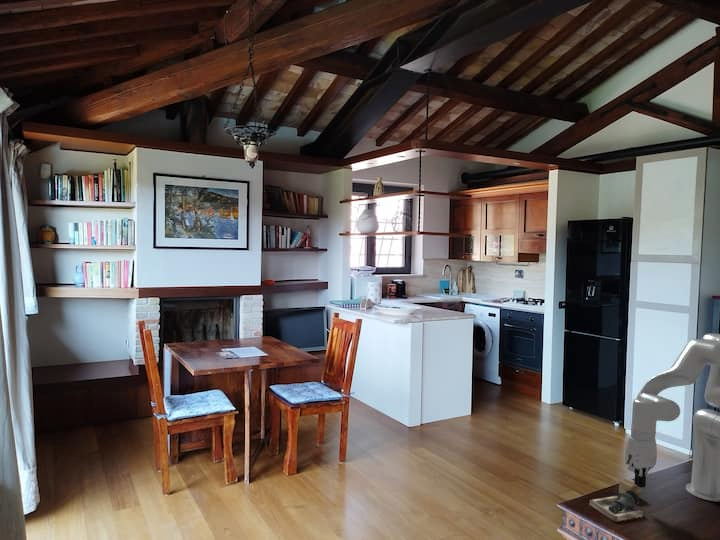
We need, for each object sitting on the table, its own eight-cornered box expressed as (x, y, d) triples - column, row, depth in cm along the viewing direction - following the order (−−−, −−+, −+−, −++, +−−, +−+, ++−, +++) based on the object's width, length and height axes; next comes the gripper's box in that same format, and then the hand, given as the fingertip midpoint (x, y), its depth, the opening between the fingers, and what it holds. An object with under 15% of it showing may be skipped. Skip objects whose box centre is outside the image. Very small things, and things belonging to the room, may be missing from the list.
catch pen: (616, 500, 188) (616, 495, 188) (642, 516, 178) (643, 511, 177) (589, 504, 184) (589, 500, 184) (614, 521, 174) (615, 516, 173)
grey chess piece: (643, 501, 179) (619, 516, 174) (634, 508, 183) (611, 523, 178) (630, 486, 182) (606, 499, 177) (621, 493, 186) (598, 507, 181)
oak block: (629, 491, 196) (630, 478, 195) (640, 498, 191) (641, 484, 191) (618, 493, 194) (619, 480, 194) (629, 499, 189) (630, 486, 189)
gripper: (650, 428, 189) (647, 478, 190) (617, 432, 184) (614, 483, 185) (668, 436, 182) (665, 487, 183) (635, 440, 177) (632, 493, 178)
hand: (639, 485), depth 184 cm, fingers closed
